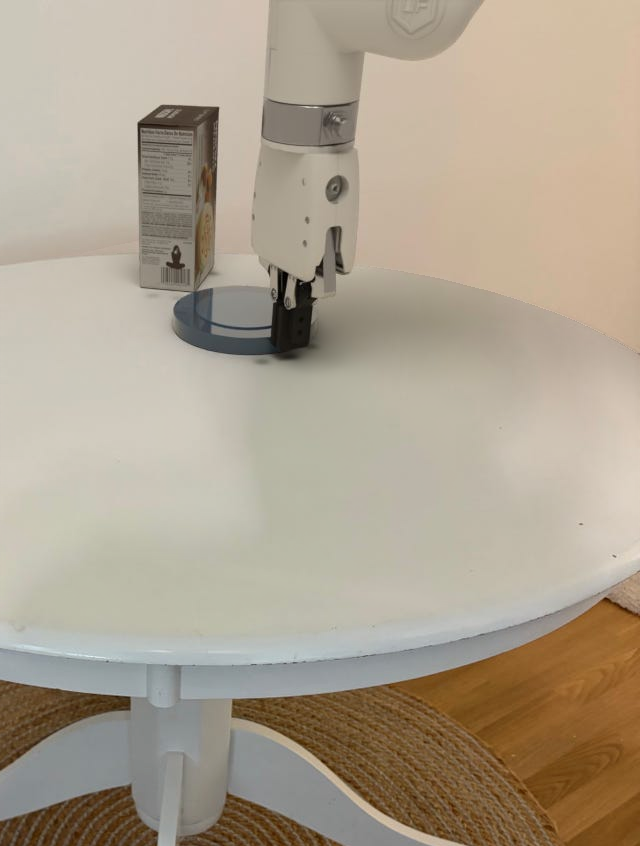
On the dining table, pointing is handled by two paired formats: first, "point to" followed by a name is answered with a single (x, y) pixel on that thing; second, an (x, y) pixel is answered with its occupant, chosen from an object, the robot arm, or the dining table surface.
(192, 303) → the plate
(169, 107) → the coffee box
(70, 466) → the dining table surface
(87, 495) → the dining table surface
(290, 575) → the dining table surface
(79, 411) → the dining table surface
